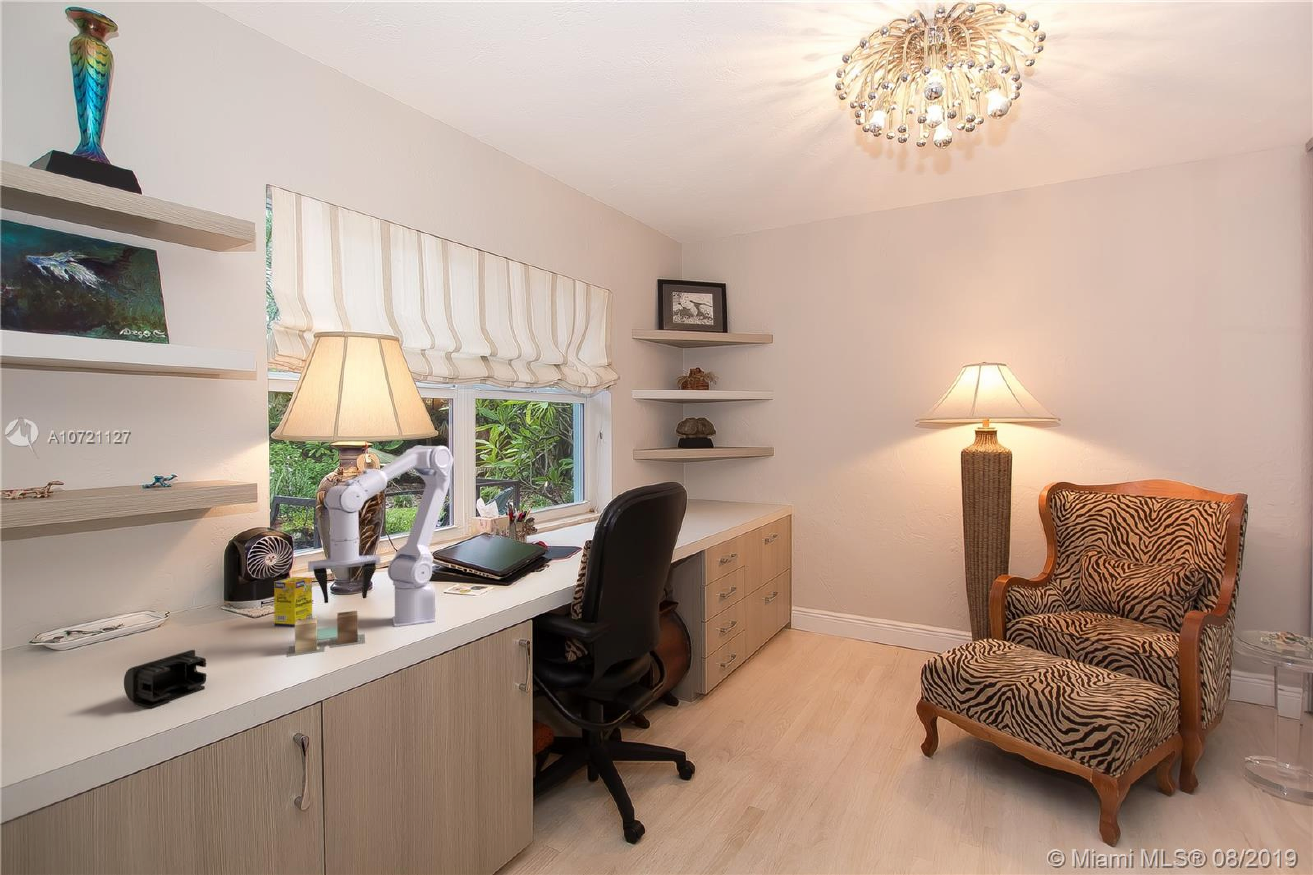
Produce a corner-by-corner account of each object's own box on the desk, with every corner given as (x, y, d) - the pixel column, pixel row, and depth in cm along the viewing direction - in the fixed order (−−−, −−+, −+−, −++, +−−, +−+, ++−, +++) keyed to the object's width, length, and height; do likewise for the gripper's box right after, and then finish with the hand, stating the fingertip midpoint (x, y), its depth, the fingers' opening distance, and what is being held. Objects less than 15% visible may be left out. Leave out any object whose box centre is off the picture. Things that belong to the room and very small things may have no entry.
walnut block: (357, 636, 145) (357, 610, 145) (357, 642, 142) (357, 615, 142) (337, 639, 144) (337, 612, 143) (337, 644, 140) (337, 617, 140)
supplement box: (295, 628, 153) (294, 582, 153) (273, 626, 154) (273, 581, 154) (313, 620, 159) (312, 577, 159) (292, 619, 160) (291, 576, 160)
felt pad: (341, 627, 153) (340, 625, 153) (340, 638, 145) (340, 636, 145) (298, 632, 149) (298, 631, 149) (295, 643, 141) (295, 642, 141)
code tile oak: (325, 642, 142) (325, 641, 142) (324, 652, 136) (324, 651, 136) (289, 647, 139) (289, 646, 139) (286, 657, 133) (286, 656, 133)
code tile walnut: (364, 634, 147) (364, 633, 147) (365, 643, 141) (365, 643, 141) (330, 639, 144) (330, 638, 144) (329, 648, 138) (329, 647, 138)
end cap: (185, 683, 120) (185, 647, 120) (209, 689, 117) (208, 652, 117) (123, 704, 111) (122, 665, 111) (147, 711, 108) (146, 671, 108)
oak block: (317, 644, 140) (317, 617, 140) (316, 650, 136) (316, 622, 136) (296, 647, 138) (296, 620, 138) (295, 653, 135) (294, 625, 135)
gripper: (377, 533, 150) (378, 591, 150) (307, 539, 142) (308, 600, 142) (381, 538, 143) (382, 598, 144) (308, 544, 136) (309, 607, 136)
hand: (345, 599), depth 143 cm, fingers open, 7 cm apart
